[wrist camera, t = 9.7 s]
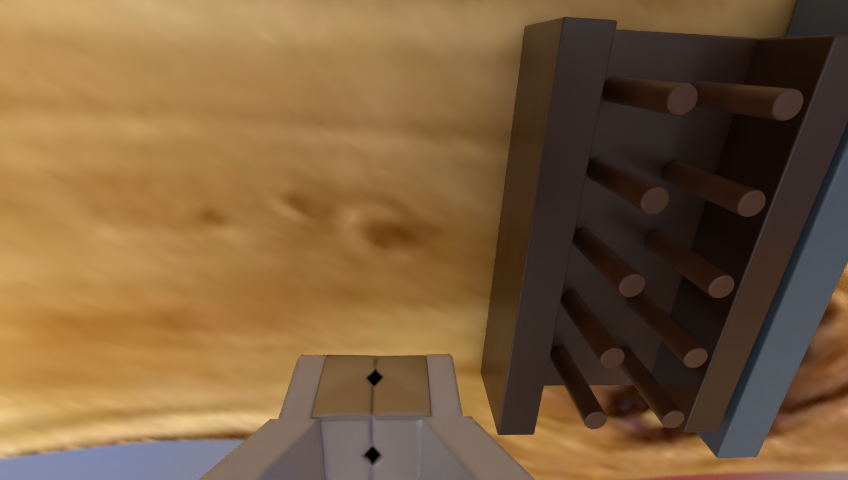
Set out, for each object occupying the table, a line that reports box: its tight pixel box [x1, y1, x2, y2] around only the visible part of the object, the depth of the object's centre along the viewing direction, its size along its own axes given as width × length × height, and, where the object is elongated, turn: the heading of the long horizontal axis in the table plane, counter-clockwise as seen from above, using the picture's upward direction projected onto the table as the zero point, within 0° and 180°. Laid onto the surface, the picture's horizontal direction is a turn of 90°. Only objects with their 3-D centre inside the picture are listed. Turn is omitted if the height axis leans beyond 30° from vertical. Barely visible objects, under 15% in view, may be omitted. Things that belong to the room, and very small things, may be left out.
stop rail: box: [697, 0, 848, 458], centre depth 18 cm, size 2×20×4 cm, turn 178°
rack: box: [481, 17, 848, 435], centre depth 17 cm, size 10×16×5 cm, turn 177°
